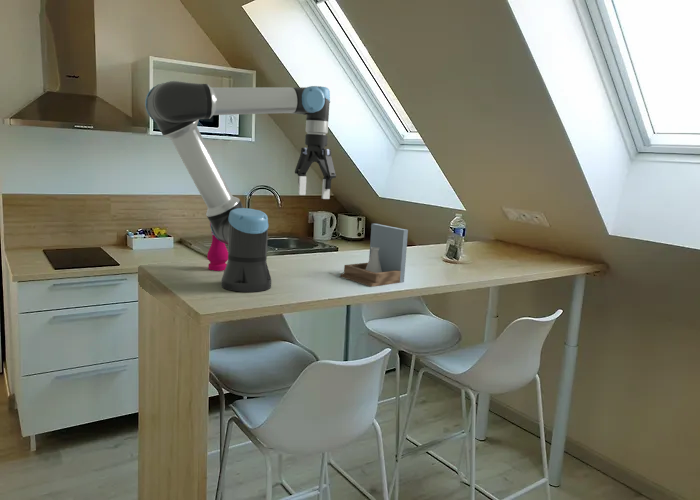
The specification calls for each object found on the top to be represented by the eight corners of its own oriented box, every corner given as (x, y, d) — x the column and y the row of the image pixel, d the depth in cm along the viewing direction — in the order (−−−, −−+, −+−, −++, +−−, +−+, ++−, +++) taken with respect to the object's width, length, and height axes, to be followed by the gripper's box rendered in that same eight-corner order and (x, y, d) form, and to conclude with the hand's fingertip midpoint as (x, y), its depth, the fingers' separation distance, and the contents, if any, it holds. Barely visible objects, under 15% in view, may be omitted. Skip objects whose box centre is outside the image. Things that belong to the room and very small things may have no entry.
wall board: (399, 282, 197) (403, 230, 194) (368, 273, 209) (371, 223, 206) (403, 282, 199) (408, 229, 196) (372, 272, 211) (375, 223, 208)
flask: (367, 273, 205) (368, 245, 203) (386, 276, 202) (388, 247, 200) (359, 276, 198) (361, 247, 196) (379, 279, 195) (381, 250, 194)
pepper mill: (202, 268, 201) (204, 210, 197) (220, 266, 206) (222, 210, 203) (214, 272, 196) (215, 213, 193) (232, 270, 201) (234, 212, 198)
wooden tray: (371, 286, 189) (372, 274, 188) (340, 276, 201) (341, 265, 200) (399, 282, 197) (400, 271, 197) (368, 273, 209) (368, 262, 209)
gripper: (348, 135, 189) (344, 200, 193) (304, 134, 208) (301, 193, 212) (330, 134, 185) (327, 200, 188) (286, 132, 203) (283, 193, 207)
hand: (313, 196), depth 200 cm, fingers open, 13 cm apart
